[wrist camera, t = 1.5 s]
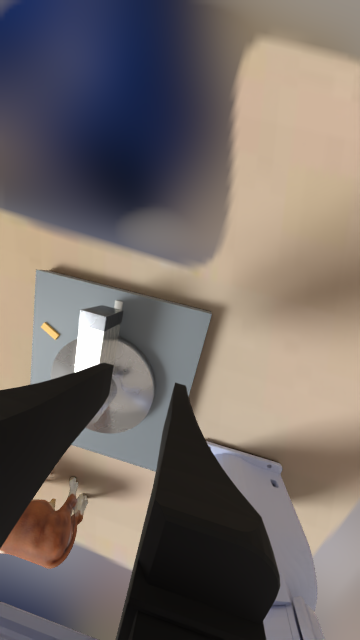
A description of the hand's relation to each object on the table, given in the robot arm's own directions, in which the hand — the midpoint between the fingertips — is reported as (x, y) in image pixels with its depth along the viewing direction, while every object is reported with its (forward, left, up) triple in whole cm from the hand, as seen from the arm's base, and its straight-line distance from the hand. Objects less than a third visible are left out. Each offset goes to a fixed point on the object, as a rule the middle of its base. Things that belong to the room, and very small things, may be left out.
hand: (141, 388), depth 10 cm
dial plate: (+6, +6, -9) cm, 12 cm away
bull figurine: (+12, +25, -10) cm, 29 cm away
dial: (+6, +4, -8) cm, 11 cm away
